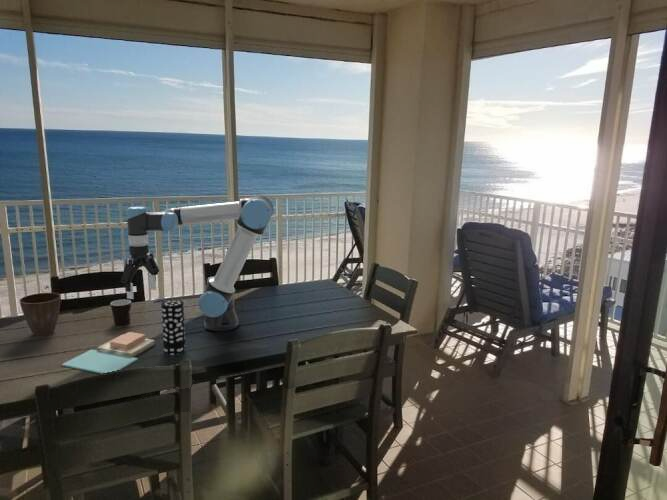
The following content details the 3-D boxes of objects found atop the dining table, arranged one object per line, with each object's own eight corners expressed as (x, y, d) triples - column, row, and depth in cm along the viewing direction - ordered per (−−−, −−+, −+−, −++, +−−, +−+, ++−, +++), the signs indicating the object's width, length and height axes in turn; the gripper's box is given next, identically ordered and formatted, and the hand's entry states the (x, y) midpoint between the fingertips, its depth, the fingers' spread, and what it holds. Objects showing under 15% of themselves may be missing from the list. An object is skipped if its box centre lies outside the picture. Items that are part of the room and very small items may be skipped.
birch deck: (154, 344, 197) (154, 340, 197) (131, 358, 184) (130, 353, 184) (122, 339, 202) (122, 334, 202) (97, 352, 189) (97, 347, 189)
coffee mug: (125, 327, 214) (123, 306, 212) (107, 325, 216) (106, 304, 214) (140, 318, 226) (139, 298, 223) (123, 317, 227) (122, 296, 225)
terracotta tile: (145, 339, 198) (145, 334, 197) (126, 349, 187) (126, 344, 187) (129, 336, 200) (129, 331, 200) (110, 346, 190) (109, 341, 189)
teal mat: (137, 359, 184) (137, 358, 183) (110, 375, 170) (110, 374, 170) (91, 350, 190) (91, 349, 190) (62, 365, 177) (61, 364, 177)
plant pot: (27, 329, 210) (23, 294, 206) (65, 325, 215) (62, 291, 212) (20, 342, 196) (16, 304, 193) (61, 337, 202) (58, 301, 199)
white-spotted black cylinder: (166, 346, 196) (164, 299, 192) (187, 346, 197) (185, 299, 193) (161, 355, 188) (158, 306, 184) (182, 354, 189) (180, 306, 184)
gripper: (151, 238, 210) (154, 285, 214) (108, 249, 187) (112, 301, 191) (165, 240, 208) (168, 286, 212) (123, 251, 185) (127, 303, 189)
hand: (142, 293), depth 202 cm, fingers open, 13 cm apart
